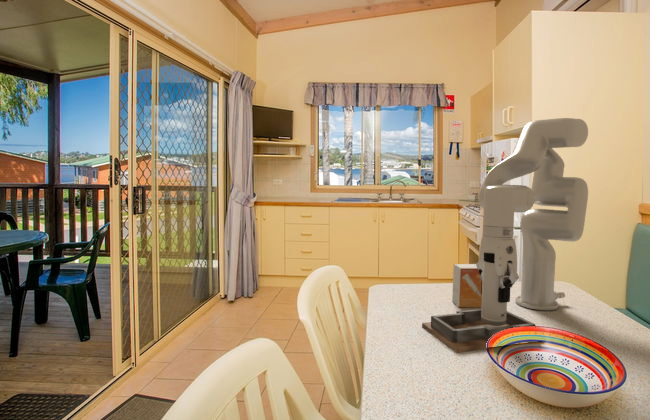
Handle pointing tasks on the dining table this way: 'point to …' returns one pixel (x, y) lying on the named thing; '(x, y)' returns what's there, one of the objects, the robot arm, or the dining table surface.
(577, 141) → the robot arm
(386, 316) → the dining table surface
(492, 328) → the keyhole cradle
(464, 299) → the small box
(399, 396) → the dining table surface
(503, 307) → the travel mug
